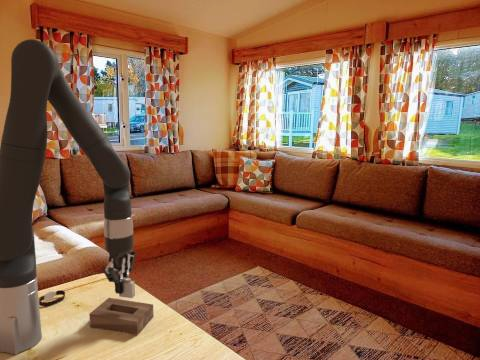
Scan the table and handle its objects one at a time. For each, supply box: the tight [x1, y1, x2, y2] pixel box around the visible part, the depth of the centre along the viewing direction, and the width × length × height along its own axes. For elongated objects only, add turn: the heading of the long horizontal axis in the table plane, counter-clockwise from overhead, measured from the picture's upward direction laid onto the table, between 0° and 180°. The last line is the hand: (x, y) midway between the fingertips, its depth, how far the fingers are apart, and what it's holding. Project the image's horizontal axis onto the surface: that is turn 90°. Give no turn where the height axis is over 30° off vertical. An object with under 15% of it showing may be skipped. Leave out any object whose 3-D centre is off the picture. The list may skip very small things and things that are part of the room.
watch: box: [38, 290, 66, 308], centre depth 111 cm, size 8×5×4 cm, turn 142°
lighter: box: [113, 274, 136, 299], centre depth 99 cm, size 7×2×8 cm, turn 77°
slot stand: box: [89, 297, 155, 336], centre depth 101 cm, size 9×15×4 cm, turn 76°
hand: (121, 290), depth 100 cm, fingers closed on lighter, 2 cm apart
